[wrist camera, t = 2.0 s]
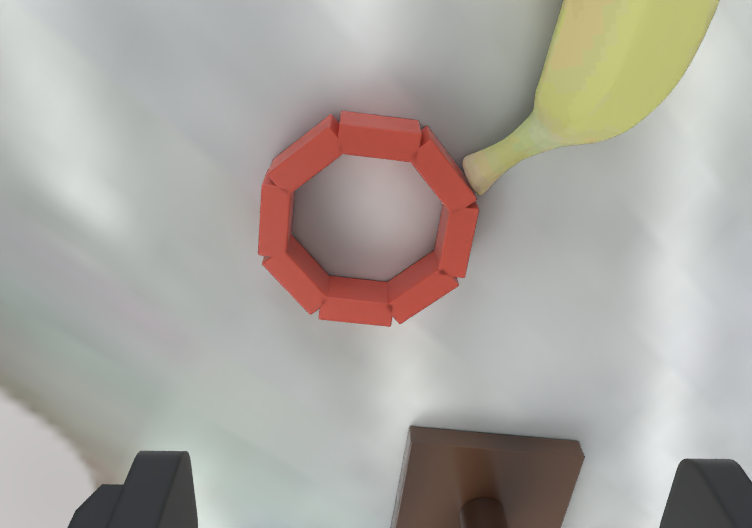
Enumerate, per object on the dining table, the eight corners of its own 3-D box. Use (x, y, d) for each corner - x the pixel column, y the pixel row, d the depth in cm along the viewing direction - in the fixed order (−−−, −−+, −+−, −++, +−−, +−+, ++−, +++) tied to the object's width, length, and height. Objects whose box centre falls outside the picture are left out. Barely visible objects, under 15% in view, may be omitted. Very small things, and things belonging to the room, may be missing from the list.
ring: (260, 290, 31) (254, 313, 29) (272, 101, 27) (265, 114, 26) (448, 310, 32) (453, 333, 30) (485, 128, 28) (494, 142, 26)
